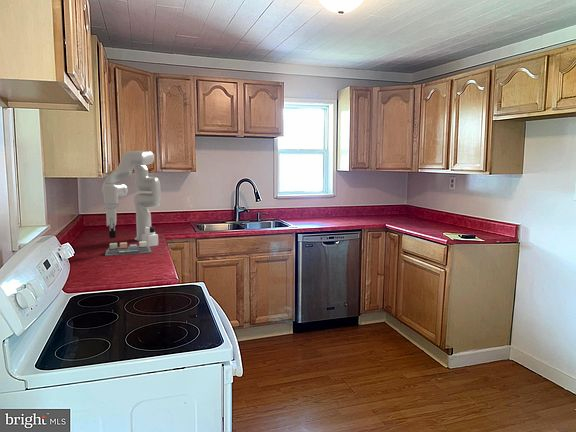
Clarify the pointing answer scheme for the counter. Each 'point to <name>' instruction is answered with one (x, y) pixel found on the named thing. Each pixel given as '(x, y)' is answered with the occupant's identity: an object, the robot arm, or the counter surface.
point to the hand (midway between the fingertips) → (112, 237)
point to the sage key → (113, 245)
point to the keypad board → (127, 251)
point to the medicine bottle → (150, 237)
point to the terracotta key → (123, 245)
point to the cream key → (142, 243)
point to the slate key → (133, 246)
